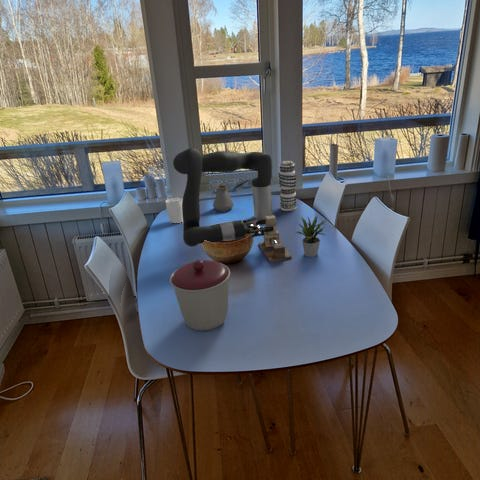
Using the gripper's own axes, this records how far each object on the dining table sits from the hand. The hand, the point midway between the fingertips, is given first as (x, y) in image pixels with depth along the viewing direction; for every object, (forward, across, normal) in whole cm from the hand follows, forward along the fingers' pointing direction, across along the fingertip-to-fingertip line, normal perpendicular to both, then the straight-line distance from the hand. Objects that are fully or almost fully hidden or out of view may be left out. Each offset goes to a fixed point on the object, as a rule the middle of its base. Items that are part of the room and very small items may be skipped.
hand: (270, 224), depth 167 cm
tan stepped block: (0, 0, +9) cm, 9 cm away
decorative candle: (+22, +45, +11) cm, 51 cm away
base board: (0, -3, +11) cm, 11 cm away
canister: (-34, -43, +11) cm, 56 cm away
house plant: (+13, -12, +11) cm, 21 cm away
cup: (-37, +50, +11) cm, 63 cm away
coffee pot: (-6, +58, +11) cm, 59 cm away
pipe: (0, -3, +8) cm, 8 cm away
